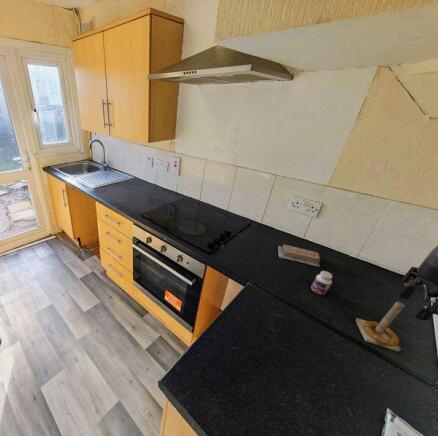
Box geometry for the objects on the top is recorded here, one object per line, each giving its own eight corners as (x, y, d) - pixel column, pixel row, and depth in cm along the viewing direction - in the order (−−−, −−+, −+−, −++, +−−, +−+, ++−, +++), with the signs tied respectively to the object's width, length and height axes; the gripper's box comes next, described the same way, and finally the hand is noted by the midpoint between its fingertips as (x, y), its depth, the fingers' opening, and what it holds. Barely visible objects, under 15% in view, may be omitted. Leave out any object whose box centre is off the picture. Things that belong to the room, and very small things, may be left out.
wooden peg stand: (384, 329, 81) (410, 298, 74) (398, 352, 74) (428, 320, 67) (354, 320, 84) (376, 289, 77) (364, 341, 76) (389, 309, 69)
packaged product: (318, 250, 116) (323, 260, 108) (315, 257, 119) (319, 268, 111) (280, 240, 123) (281, 250, 114) (277, 248, 125) (278, 257, 117)
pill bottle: (307, 288, 98) (316, 271, 93) (315, 285, 100) (324, 268, 95) (319, 297, 93) (329, 279, 89) (327, 294, 95) (338, 277, 91)
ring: (389, 329, 80) (392, 326, 79) (402, 351, 72) (406, 348, 71) (359, 320, 82) (361, 316, 82) (368, 340, 75) (371, 337, 74)
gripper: (489, 287, 53) (444, 331, 61) (445, 254, 65) (412, 295, 73) (446, 277, 56) (408, 321, 63) (412, 247, 67) (383, 287, 75)
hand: (410, 307), depth 68 cm, fingers open, 8 cm apart
